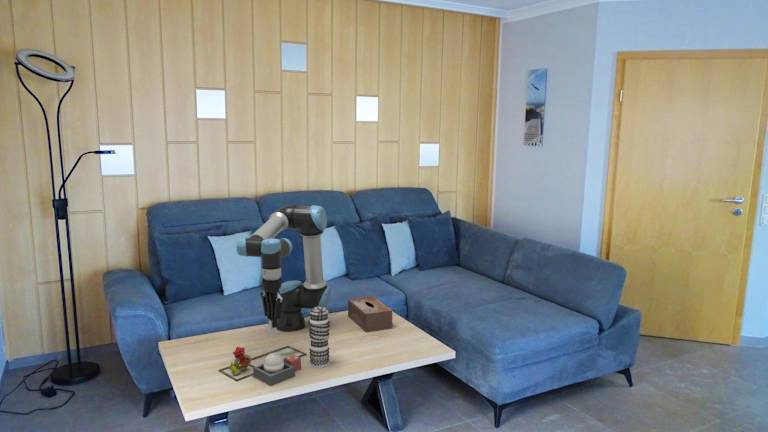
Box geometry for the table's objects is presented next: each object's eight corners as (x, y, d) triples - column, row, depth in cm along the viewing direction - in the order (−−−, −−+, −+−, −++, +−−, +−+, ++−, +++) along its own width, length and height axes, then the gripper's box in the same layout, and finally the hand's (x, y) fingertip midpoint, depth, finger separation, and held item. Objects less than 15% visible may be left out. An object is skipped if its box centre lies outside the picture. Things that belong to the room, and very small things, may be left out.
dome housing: (253, 376, 226) (252, 363, 225) (288, 363, 239) (288, 351, 238) (270, 386, 218) (270, 372, 217) (306, 371, 231) (306, 359, 230)
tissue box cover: (348, 316, 298) (348, 299, 297) (372, 313, 304) (372, 296, 303) (365, 333, 275) (365, 314, 274) (392, 329, 281) (392, 310, 279)
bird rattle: (241, 372, 235) (223, 369, 229) (250, 346, 236) (232, 343, 230) (249, 377, 230) (230, 374, 224) (257, 351, 232) (239, 348, 225)
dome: (260, 371, 226) (259, 353, 224) (276, 365, 231) (275, 347, 230) (271, 377, 220) (271, 359, 219) (287, 370, 226) (287, 353, 225)
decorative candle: (321, 370, 233) (320, 313, 229) (304, 364, 237) (303, 309, 233) (334, 362, 240) (334, 307, 236) (317, 357, 245) (317, 303, 241)
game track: (218, 371, 231) (218, 369, 231) (288, 346, 257) (288, 345, 257) (236, 381, 222) (236, 380, 222) (306, 354, 248) (306, 353, 248)
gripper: (254, 276, 221) (255, 332, 225) (273, 282, 212) (274, 341, 216) (269, 273, 227) (270, 328, 230) (289, 279, 218) (290, 336, 221)
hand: (272, 334), depth 223 cm, fingers closed
